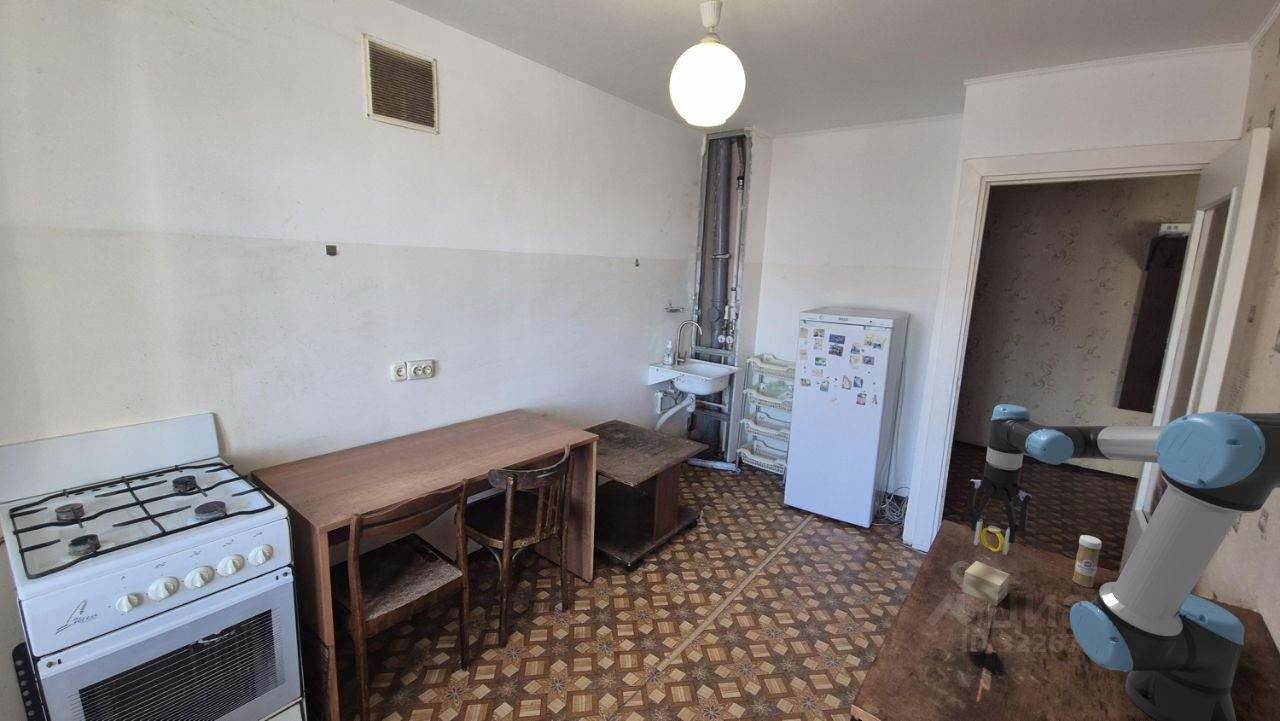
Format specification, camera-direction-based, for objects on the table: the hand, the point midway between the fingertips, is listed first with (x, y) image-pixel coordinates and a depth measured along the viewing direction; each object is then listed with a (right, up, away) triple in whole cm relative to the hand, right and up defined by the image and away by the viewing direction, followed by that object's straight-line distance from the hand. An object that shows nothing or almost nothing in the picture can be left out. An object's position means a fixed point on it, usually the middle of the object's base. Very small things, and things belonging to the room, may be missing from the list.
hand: (990, 547), depth 136 cm
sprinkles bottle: (+30, -13, +7) cm, 34 cm away
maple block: (0, -13, +2) cm, 13 cm away
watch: (0, -1, 0) cm, 1 cm away
